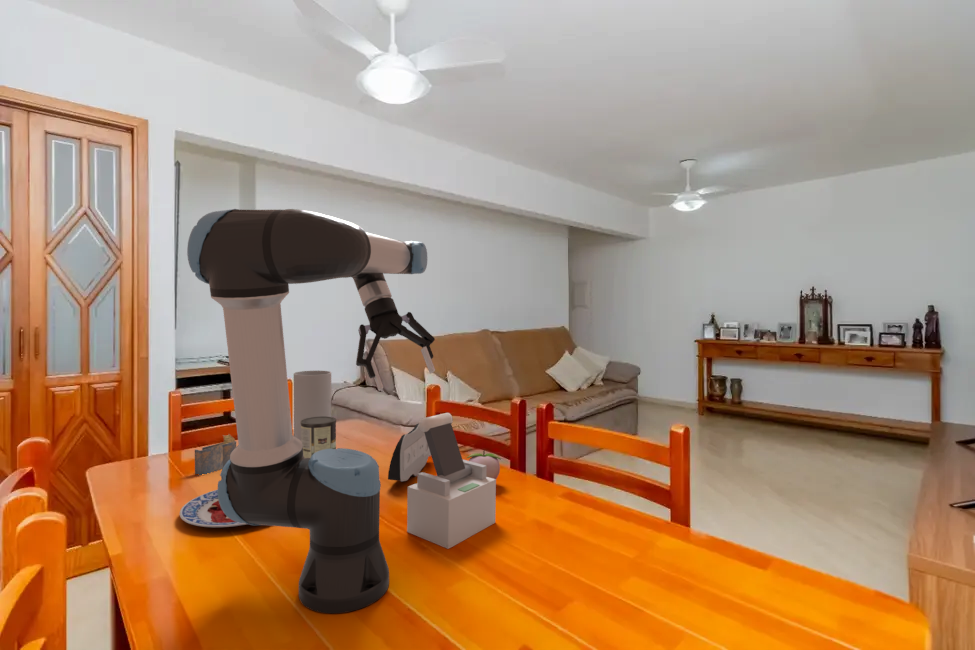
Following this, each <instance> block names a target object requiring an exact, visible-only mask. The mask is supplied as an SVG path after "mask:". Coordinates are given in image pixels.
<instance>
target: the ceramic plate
mask: <svg viewBox="0 0 975 650" xmlns="http://www.w3.org/2000/svg"><path fill="white" fill-rule="evenodd" d="M179 517H180V519H181V520H182V521H184V522H185V523H187V524H189V525H192V526H197V527H204V528H229V527H238V526H245V525H247V524H246V523H241V522H236V521H233V520H231V519H230V518H228V517H227V516H226V515H225V513H224V512H223V510H222V509H221V506H220V504H219V500H218V489H214V490H211V491H209V492H206V493H203V494H201V495H198V496H196V497H194V498H192V499H191V500H189V501H188V502H187V503H185V504H184V505H182V507H181V508H180V511H179Z"/></svg>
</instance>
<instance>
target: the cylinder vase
mask: <svg viewBox="0 0 975 650" xmlns="http://www.w3.org/2000/svg"><path fill="white" fill-rule="evenodd" d="M320 416H326V417H332V371H330V370H302V371H296V372H293V436H294V437H296V438H298V439H299V440H300V441H301V420H303V419H306V418H311V417H320Z"/></svg>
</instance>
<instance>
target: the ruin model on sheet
mask: <svg viewBox="0 0 975 650" xmlns="http://www.w3.org/2000/svg"><path fill="white" fill-rule="evenodd" d="M222 437H223V442H219V443H214V444H211V445H207V446H204V447H203V446H202V447H201V449H194V475H195V474H199V475H202V474H206V475H208V474H207V473H209V474H211V472H212V473H215V472H218V470H219V471H222V470H221V469H223V467H224V465H225V464H226V463H227V461H228V460H230V455H231V453H232V451H233V450H234V449H235V448H236V447H237V441H236V439H235V438H234V437H233V435H231V434H230V433H228V435H224V434H222ZM214 471H215V472H214ZM199 475H198V476H199Z"/></svg>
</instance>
